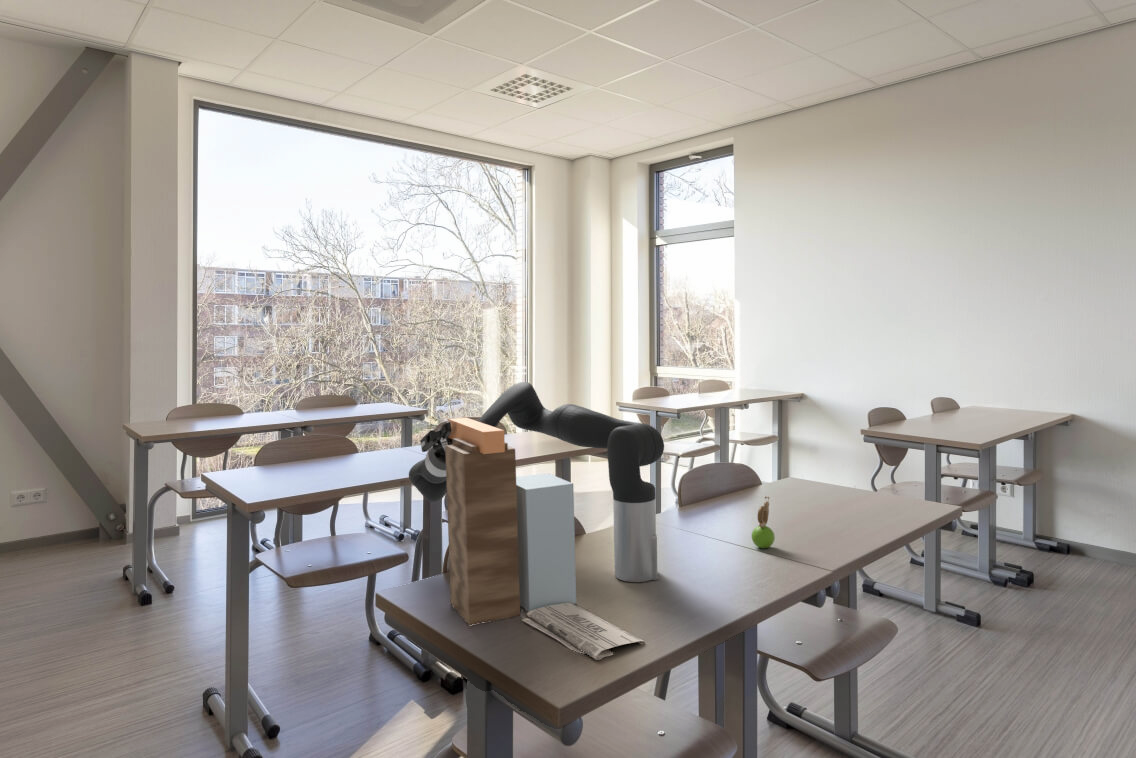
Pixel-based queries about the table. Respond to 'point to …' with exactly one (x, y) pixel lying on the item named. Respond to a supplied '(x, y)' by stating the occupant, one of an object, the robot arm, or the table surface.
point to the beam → (478, 435)
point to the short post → (545, 541)
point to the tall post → (482, 532)
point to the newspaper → (579, 629)
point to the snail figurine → (763, 528)
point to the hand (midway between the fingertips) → (463, 424)
